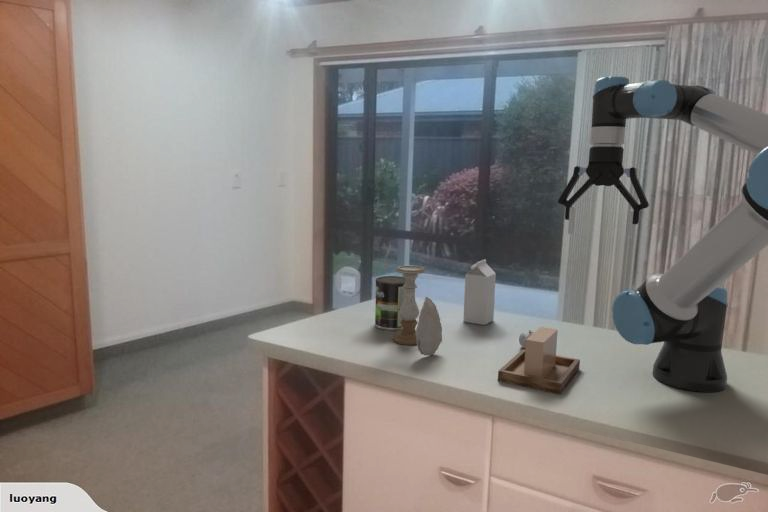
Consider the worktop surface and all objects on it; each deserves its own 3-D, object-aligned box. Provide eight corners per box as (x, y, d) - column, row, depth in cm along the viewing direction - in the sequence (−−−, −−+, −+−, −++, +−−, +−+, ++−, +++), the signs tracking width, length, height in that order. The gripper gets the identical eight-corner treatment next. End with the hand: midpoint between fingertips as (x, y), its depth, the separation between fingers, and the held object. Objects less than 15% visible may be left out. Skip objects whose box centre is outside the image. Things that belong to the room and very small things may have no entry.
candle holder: (429, 343, 157) (432, 269, 153) (400, 346, 154) (401, 271, 150) (416, 334, 165) (418, 264, 161) (387, 337, 162) (389, 265, 158)
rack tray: (579, 369, 139) (579, 359, 139) (560, 394, 124) (561, 383, 123) (522, 358, 146) (522, 349, 146) (497, 380, 131) (498, 370, 130)
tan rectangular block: (555, 365, 139) (557, 329, 138) (541, 381, 129) (543, 342, 127) (538, 362, 141) (540, 326, 140) (523, 377, 131) (525, 339, 129)
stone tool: (422, 361, 143) (424, 302, 140) (412, 358, 145) (413, 299, 142) (443, 352, 150) (445, 295, 147) (433, 349, 152) (435, 293, 149)
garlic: (538, 353, 151) (539, 333, 150) (517, 350, 152) (518, 331, 152) (540, 346, 156) (541, 327, 155) (519, 343, 158) (520, 325, 157)
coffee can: (380, 331, 167) (381, 283, 164) (370, 322, 176) (371, 276, 174) (414, 329, 170) (415, 282, 168) (402, 319, 180) (403, 275, 177)
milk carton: (493, 320, 180) (496, 260, 177) (484, 325, 174) (487, 263, 171) (472, 316, 184) (475, 258, 181) (463, 322, 178) (465, 261, 175)
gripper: (666, 146, 133) (658, 238, 136) (557, 146, 145) (551, 230, 149) (663, 145, 126) (654, 241, 130) (549, 145, 139) (543, 233, 142)
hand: (599, 235), depth 139 cm, fingers open, 13 cm apart
